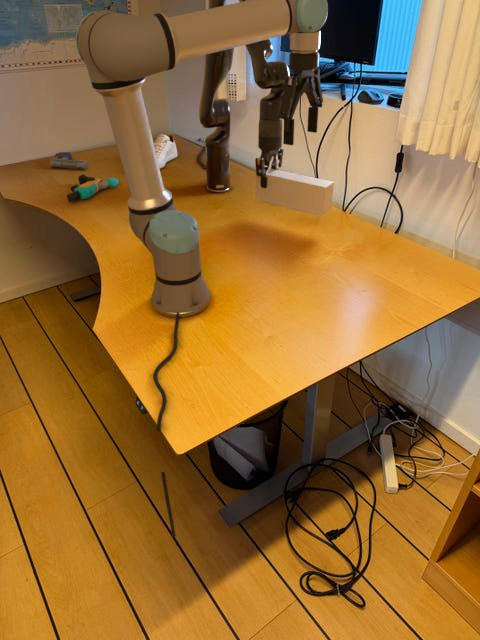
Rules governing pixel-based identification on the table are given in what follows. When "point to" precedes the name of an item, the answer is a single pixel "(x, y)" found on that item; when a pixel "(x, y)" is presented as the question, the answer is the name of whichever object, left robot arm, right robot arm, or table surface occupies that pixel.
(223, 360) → the table surface
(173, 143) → the sneaker
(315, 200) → the box
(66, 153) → the toy gun
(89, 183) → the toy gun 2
